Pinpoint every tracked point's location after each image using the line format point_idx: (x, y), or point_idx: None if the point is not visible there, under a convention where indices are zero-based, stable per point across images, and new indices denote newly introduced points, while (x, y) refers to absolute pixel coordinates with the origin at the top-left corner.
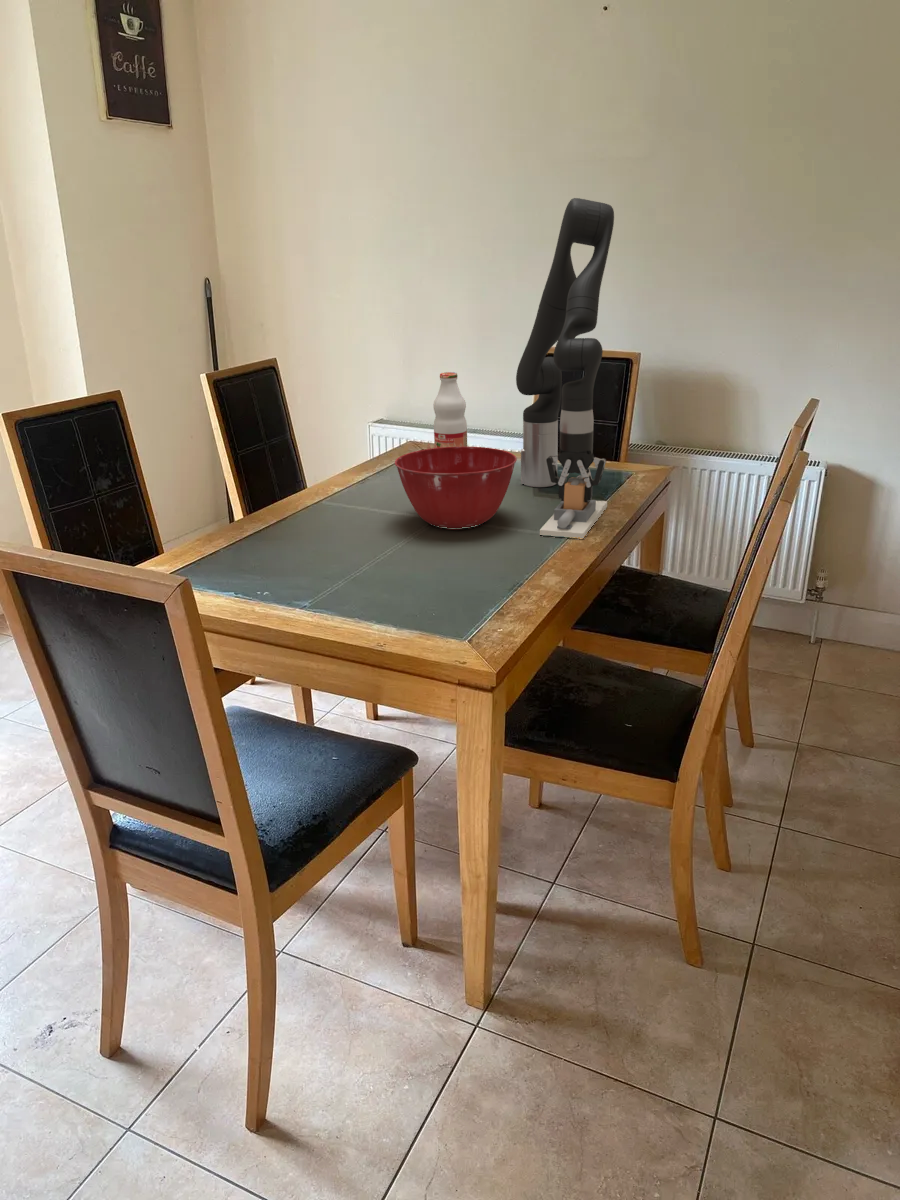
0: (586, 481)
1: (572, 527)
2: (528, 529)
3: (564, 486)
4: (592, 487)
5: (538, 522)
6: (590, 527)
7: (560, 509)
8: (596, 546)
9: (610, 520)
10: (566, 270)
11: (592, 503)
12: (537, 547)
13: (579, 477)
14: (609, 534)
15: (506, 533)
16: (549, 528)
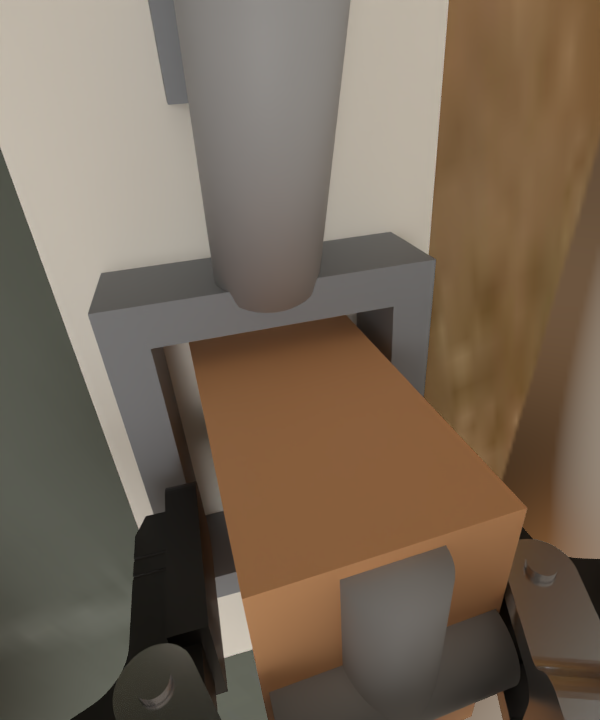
0: (523, 693)
1: None
2: (71, 603)
3: (225, 679)
4: (525, 534)
5: (43, 499)
6: None
7: (227, 585)
8: None
9: (481, 271)
10: None
11: (421, 369)
12: (241, 700)
13: (429, 677)
14: None
15: (2, 685)
16: (226, 637)
